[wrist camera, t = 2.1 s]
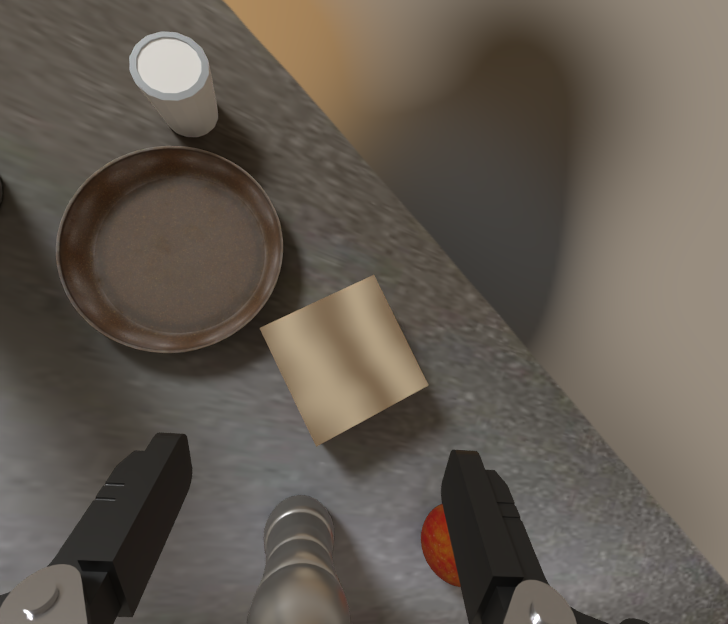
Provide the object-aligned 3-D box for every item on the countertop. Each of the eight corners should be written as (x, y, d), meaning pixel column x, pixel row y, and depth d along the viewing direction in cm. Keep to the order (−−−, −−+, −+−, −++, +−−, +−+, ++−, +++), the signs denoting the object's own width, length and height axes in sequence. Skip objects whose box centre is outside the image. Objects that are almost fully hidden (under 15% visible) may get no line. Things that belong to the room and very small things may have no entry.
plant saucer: (35, 213, 38) (10, 199, 35) (225, 130, 42) (218, 111, 39) (137, 392, 37) (122, 395, 34) (319, 291, 42) (321, 285, 38)
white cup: (181, 72, 42) (157, 16, 35) (236, 106, 42) (223, 57, 35) (144, 120, 40) (111, 71, 34) (201, 154, 41) (181, 114, 34)
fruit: (446, 575, 40) (481, 629, 32) (399, 530, 40) (422, 573, 32) (487, 522, 41) (530, 560, 33) (442, 478, 41) (474, 506, 33)
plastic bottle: (297, 474, 39) (293, 595, 19) (346, 518, 39) (390, 683, 19) (251, 526, 37) (196, 713, 18) (301, 572, 38) (301, 806, 18)
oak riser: (314, 435, 39) (316, 446, 34) (264, 331, 40) (259, 328, 35) (413, 381, 42) (428, 385, 37) (365, 284, 42) (373, 274, 37)
